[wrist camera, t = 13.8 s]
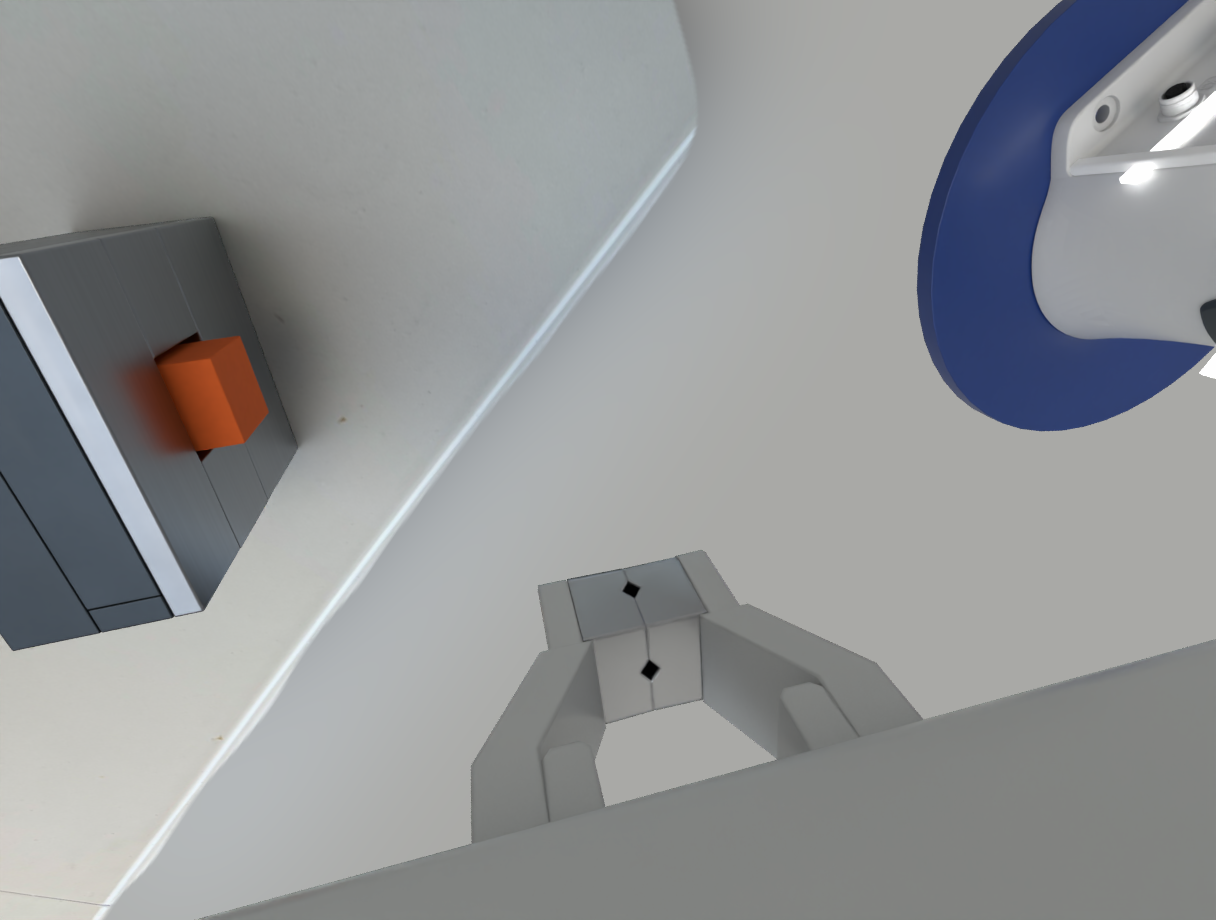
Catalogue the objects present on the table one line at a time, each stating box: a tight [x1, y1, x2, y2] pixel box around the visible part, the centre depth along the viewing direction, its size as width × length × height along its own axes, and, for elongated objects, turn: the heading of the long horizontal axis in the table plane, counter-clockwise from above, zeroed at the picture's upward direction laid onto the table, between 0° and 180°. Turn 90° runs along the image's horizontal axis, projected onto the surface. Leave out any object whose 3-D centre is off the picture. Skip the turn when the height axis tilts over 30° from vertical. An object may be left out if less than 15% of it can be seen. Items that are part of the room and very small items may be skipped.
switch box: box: [0, 217, 298, 651], centre depth 24 cm, size 6×12×14 cm, turn 6°
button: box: [154, 336, 269, 451], centre depth 24 cm, size 3×3×3 cm
